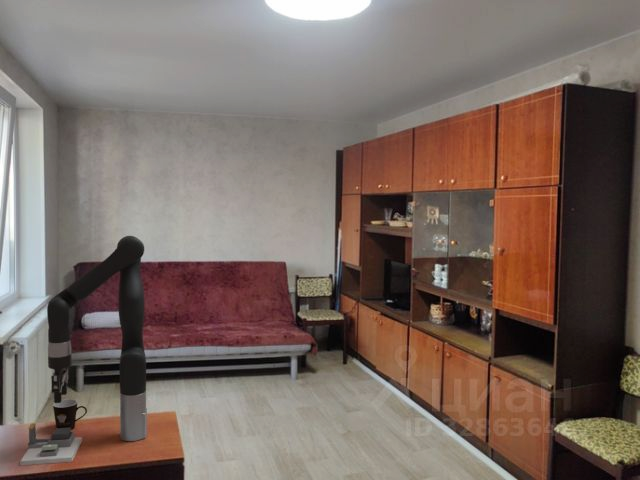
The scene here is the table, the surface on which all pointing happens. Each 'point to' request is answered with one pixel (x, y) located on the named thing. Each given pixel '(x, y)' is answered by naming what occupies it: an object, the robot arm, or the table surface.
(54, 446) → the rocker switch
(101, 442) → the table surface
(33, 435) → the paddle slider
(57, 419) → the coffee mug
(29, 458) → the panel
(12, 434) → the table surface
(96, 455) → the table surface
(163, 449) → the table surface
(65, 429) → the push button
